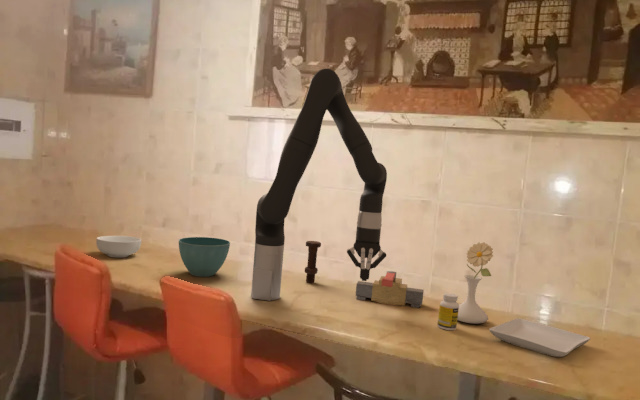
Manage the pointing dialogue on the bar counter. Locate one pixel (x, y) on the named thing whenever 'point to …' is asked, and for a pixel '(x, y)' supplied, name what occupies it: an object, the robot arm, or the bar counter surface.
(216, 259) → the teal bowl
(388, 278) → the lever
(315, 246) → the bolt
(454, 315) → the supplement bottle
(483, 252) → the flower in vase
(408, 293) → the pipe and valve
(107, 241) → the cereal bowl
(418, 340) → the bar counter surface
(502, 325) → the salad plate
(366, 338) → the bar counter surface
